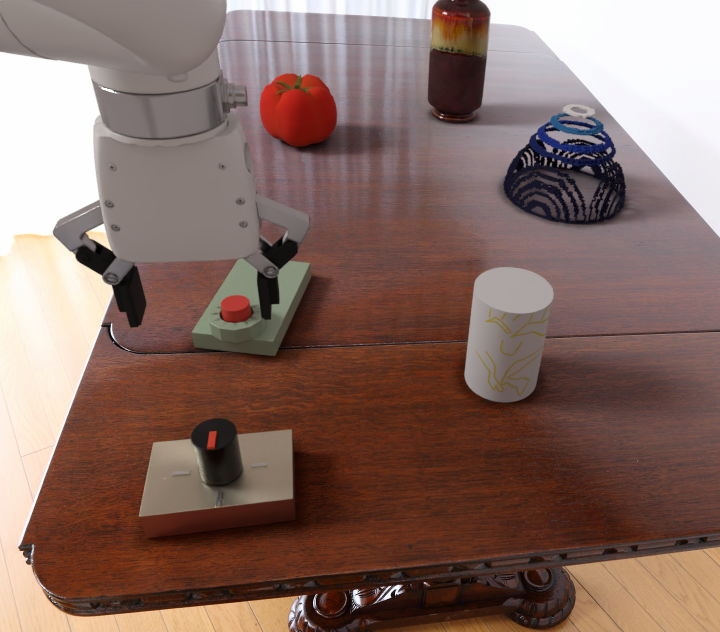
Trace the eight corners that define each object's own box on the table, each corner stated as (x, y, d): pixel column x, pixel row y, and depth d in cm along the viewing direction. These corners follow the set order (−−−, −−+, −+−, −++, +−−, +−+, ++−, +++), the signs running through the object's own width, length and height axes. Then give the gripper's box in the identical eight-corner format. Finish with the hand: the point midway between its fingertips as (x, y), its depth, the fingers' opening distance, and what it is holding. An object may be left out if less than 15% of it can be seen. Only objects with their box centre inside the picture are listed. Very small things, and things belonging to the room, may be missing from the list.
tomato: (271, 122, 127) (265, 65, 120) (342, 127, 128) (341, 71, 122) (254, 152, 116) (247, 91, 110) (332, 157, 117) (330, 97, 111)
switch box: (272, 362, 75) (269, 333, 72) (191, 353, 75) (184, 324, 72) (311, 277, 88) (309, 250, 86) (242, 269, 88) (238, 243, 86)
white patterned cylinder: (472, 405, 72) (483, 315, 65) (458, 355, 78) (466, 268, 71) (545, 399, 74) (564, 311, 67) (525, 351, 80) (541, 265, 73)
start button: (246, 325, 74) (244, 312, 73) (218, 322, 74) (216, 309, 73) (254, 308, 76) (253, 296, 75) (228, 306, 76) (226, 293, 75)
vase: (418, 107, 140) (424, -33, 124) (467, 103, 144) (479, -33, 128) (438, 127, 132) (448, -19, 116) (489, 123, 136) (505, -19, 121)
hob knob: (201, 455, 60) (192, 416, 57) (244, 451, 61) (237, 413, 58) (196, 487, 57) (186, 449, 54) (241, 483, 58) (234, 445, 55)
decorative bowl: (537, 157, 125) (549, 78, 116) (639, 190, 118) (660, 109, 109) (482, 196, 111) (491, 109, 102) (594, 236, 103) (615, 147, 95)
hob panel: (146, 539, 56) (138, 515, 54) (159, 464, 62) (152, 441, 60) (295, 520, 59) (292, 497, 57) (294, 450, 65) (292, 427, 63)
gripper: (301, 84, 48) (314, 281, 59) (30, 80, 45) (95, 291, 55) (302, 126, 43) (316, 335, 53) (-8, 125, 39) (73, 351, 49)
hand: (204, 312), depth 54 cm, fingers open, 9 cm apart
